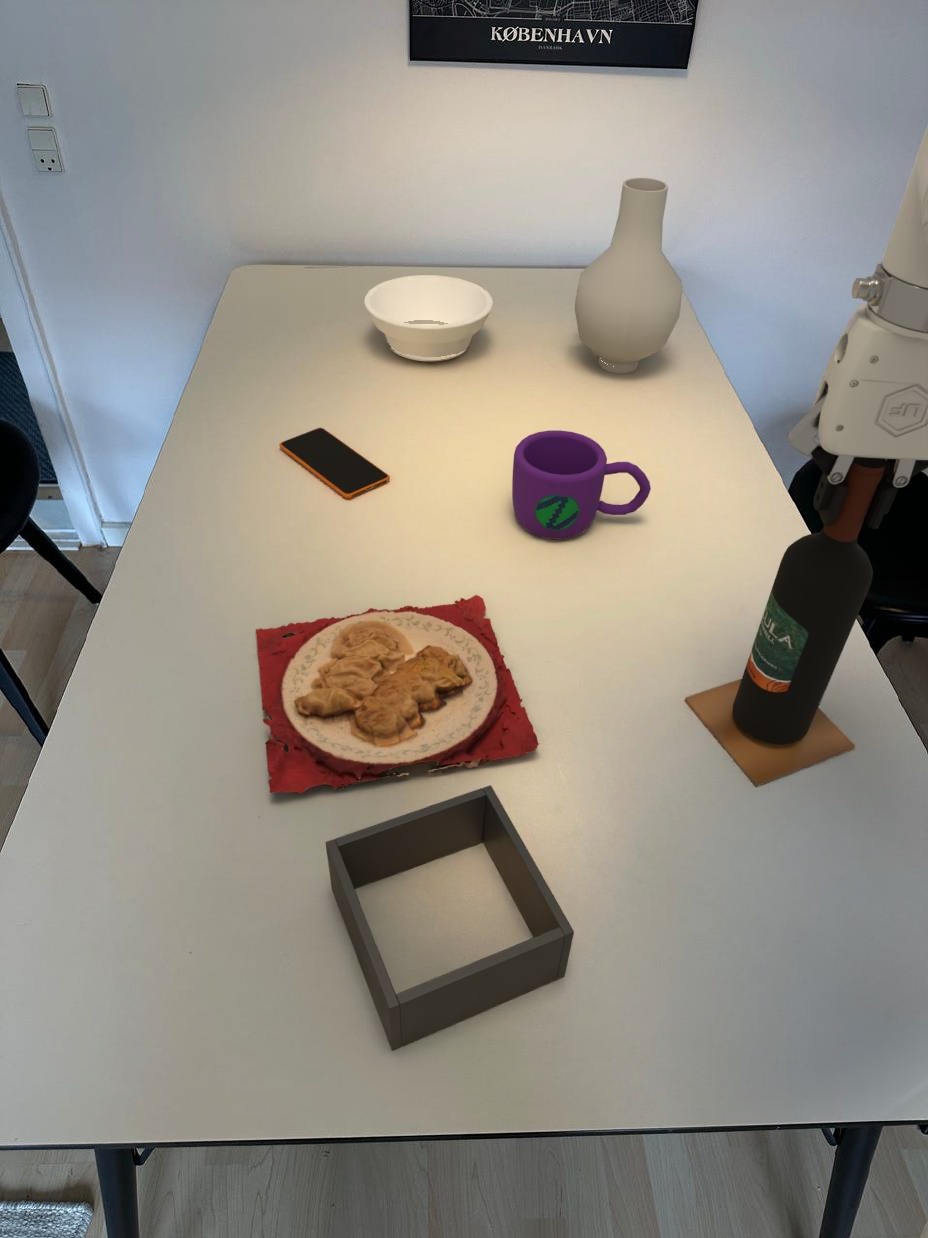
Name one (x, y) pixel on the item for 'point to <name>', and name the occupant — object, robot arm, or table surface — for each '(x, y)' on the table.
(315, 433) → the smartphone
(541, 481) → the mug
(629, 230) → the vase
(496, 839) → the grey square tray frame
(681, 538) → the table surface
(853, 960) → the table surface
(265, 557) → the table surface
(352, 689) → the plate with food
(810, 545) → the wine bottle
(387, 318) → the bowl
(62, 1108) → the table surface
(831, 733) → the cork mat
